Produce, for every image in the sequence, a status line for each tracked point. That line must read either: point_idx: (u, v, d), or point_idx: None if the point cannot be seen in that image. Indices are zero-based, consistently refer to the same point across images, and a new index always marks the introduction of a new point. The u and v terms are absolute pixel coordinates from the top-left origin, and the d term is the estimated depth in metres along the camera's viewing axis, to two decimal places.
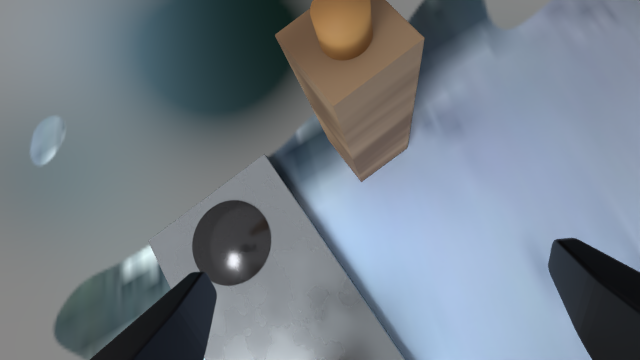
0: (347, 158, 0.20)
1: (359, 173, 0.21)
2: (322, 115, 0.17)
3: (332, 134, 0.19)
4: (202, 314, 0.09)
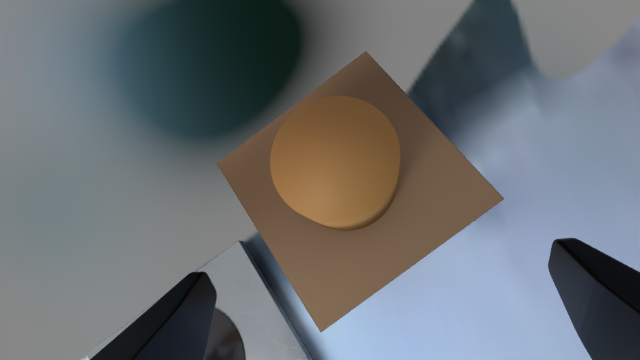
0: None
1: None
2: None
3: None
4: (202, 314, 0.09)
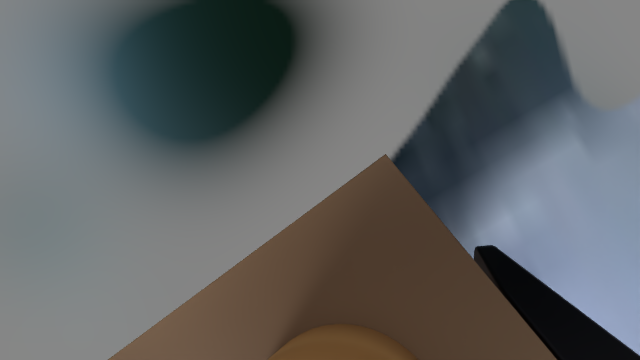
0: None
1: None
2: None
3: None
4: None
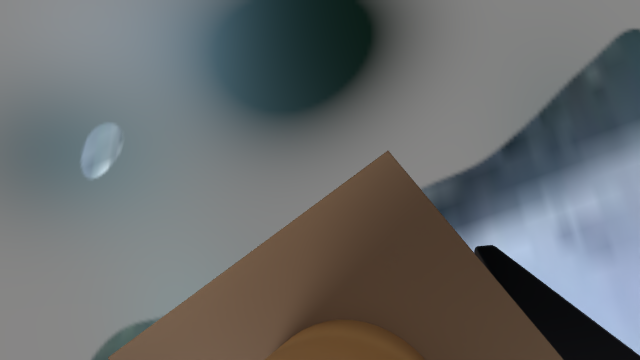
0: None
1: None
2: None
3: None
4: None
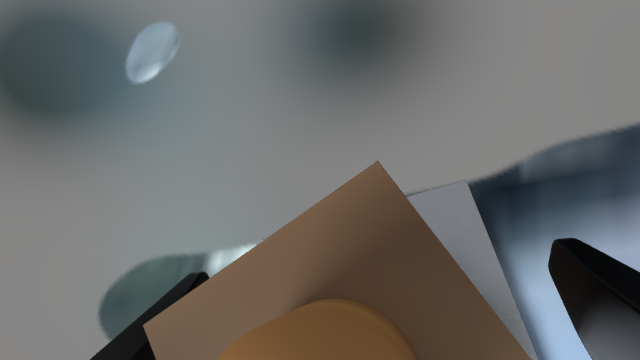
0: None
1: None
2: None
3: None
4: None
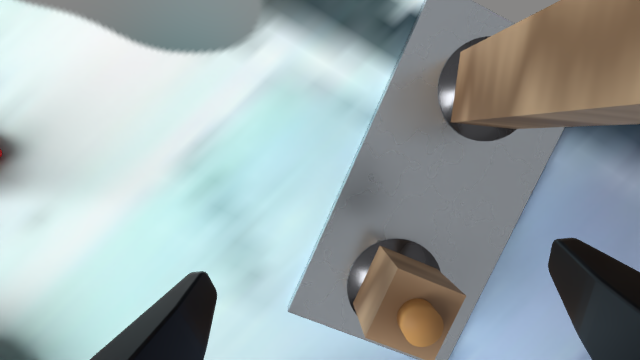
0: (483, 98, 0.16)
1: (472, 120, 0.17)
2: (555, 47, 0.12)
3: (515, 68, 0.14)
4: (202, 314, 0.09)
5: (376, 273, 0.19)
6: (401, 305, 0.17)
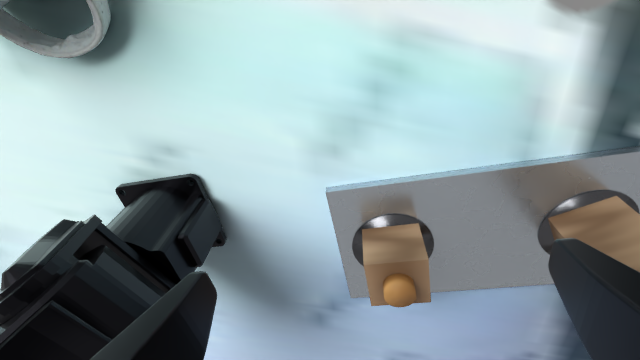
0: (593, 244, 0.19)
1: None
2: None
3: None
4: (202, 314, 0.09)
5: (402, 238, 0.22)
6: (401, 273, 0.21)
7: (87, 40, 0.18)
